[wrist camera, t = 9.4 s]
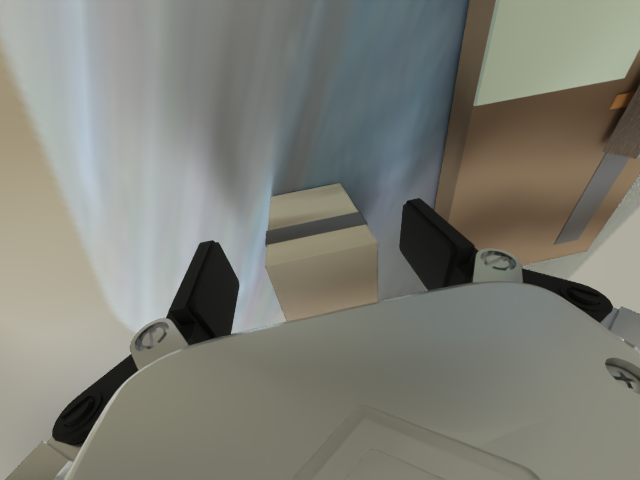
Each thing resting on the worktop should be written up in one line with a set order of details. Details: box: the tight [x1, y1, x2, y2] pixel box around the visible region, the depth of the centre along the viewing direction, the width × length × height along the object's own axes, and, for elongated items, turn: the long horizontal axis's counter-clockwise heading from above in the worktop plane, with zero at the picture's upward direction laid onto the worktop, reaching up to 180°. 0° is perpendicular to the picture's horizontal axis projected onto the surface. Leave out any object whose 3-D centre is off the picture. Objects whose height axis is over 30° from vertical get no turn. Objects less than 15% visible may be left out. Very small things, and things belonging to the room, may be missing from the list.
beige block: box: [265, 183, 378, 321], centre depth 12 cm, size 5×4×6 cm
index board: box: [434, 0, 640, 265], centre depth 12 cm, size 20×12×2 cm, turn 8°
